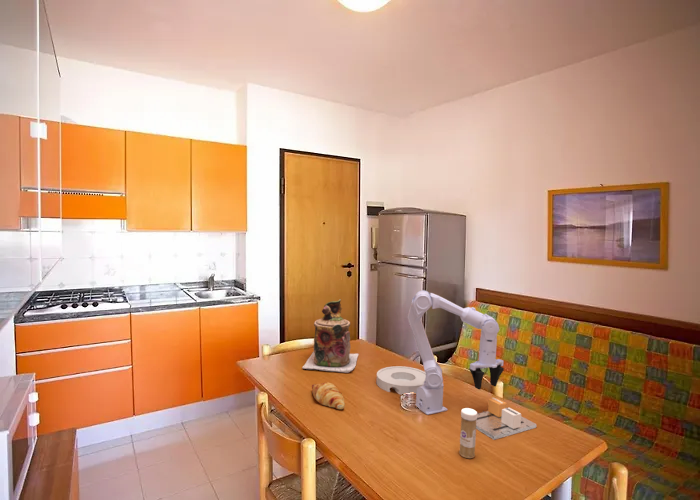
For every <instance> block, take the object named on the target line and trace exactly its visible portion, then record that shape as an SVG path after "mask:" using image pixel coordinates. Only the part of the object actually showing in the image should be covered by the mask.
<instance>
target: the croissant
mask: <svg viewBox="0 0 700 500" xmlns="http://www.w3.org/2000/svg"><path fill="white" fill-rule="evenodd" d="M311 393H312V396H313V398H314V400H316V402H318V403H319V404H320V405H322V406H326V407H329V408H335V409H336V410H343V409H344V408H345V404H346V403H345V399H344V396H343V393H342V392H340V390H339V388H338V387H337V386H336V384H334V383H332V382H328V381H325V382H324V383H316V384H315V383H314V384H311Z"/></svg>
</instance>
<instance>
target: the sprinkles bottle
mask: <svg viewBox="0 0 700 500" xmlns="http://www.w3.org/2000/svg"><path fill="white" fill-rule="evenodd" d="M477 414H478V411H476V410H475V409H473V408H469V407H465V408H462V409H461V411H460V416H461V422H460V435H459V453H458V454H459V455H460V456H461V458H462V457H463V458H465V459H468V460H469V459H473V458H474V457H475V456H476V454H475V452H476V450H475V449H476V437H477V436H476V435H477V434H476V433H477V429H476V420H477Z"/></svg>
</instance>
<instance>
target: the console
mask: <svg viewBox="0 0 700 500" xmlns="http://www.w3.org/2000/svg"><path fill="white" fill-rule="evenodd" d="M501 418H502V416H501V417H498V416H496V415H494V414H492V413H490V412H489V411H488V410H486V411H484V410H482V412H477V420H476V431H477V430H478V431H479V432H480V433H482V434H484V435H485V436H487V437H489V438H490V439H492V440H493V441H494V440H498V439H501V438H505V437H509V436H512V435H515V434H520V433H522V432H523V433H524V432H525V431H530V430H532V429H536V428H537V423H535V422H534V421H531V420H529V419H528V418H526V417H523V416H522V415H521V427H518V428H515V429H512V428H511V427H509V426H507V425H505V424H504V423H502V422H501Z"/></svg>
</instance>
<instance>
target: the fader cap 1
mask: <svg viewBox="0 0 700 500" xmlns="http://www.w3.org/2000/svg"><path fill="white" fill-rule="evenodd" d="M505 408H507V402H505V401H503V400H502V399H500V398H497V397H491V398H488V404H487V411H489V412H490V413H492V414H494V415H496V416H498V417H501V416H502V409H505Z"/></svg>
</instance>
